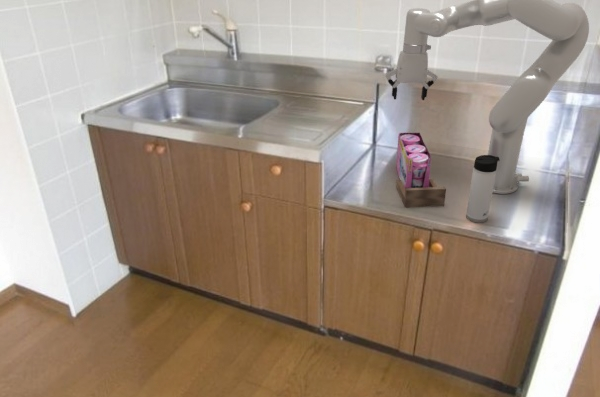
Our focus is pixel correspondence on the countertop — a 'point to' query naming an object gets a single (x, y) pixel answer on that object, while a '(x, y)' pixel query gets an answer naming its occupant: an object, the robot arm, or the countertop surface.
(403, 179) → the gum box
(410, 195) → the brown wooden open box
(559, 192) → the countertop surface
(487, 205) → the travel mug
